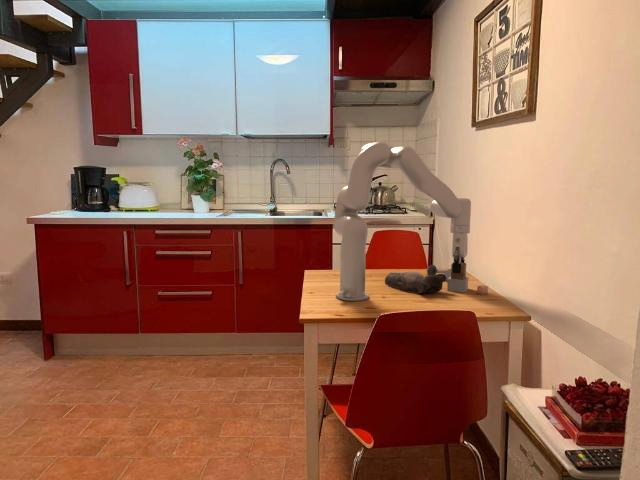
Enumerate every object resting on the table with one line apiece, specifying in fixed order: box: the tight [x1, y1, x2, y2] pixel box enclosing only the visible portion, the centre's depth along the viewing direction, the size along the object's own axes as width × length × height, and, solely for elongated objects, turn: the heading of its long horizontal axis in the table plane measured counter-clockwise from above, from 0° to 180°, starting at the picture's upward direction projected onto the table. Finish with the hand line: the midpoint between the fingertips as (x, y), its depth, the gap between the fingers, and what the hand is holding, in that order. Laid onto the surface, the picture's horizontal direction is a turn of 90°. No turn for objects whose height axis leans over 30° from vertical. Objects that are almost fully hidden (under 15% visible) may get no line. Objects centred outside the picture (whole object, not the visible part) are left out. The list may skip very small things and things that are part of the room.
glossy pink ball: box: [476, 284, 489, 296], centre depth 187 cm, size 4×4×3 cm
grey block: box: [446, 276, 469, 293], centre depth 194 cm, size 7×7×5 cm
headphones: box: [414, 264, 451, 282], centre depth 216 cm, size 17×6×20 cm
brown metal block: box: [450, 262, 467, 280], centre depth 193 cm, size 5×5×6 cm
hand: (458, 270), depth 193 cm, fingers open, 9 cm apart
